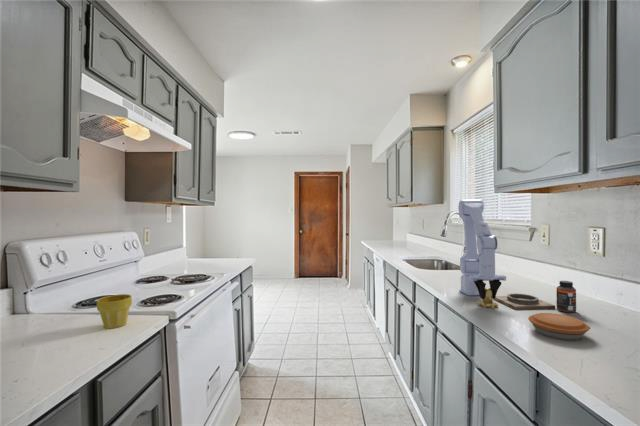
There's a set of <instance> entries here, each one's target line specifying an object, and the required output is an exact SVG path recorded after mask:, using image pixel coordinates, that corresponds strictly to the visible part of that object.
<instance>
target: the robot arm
mask: <svg viewBox="0 0 640 426" xmlns="http://www.w3.org/2000/svg"><path fill="white" fill-rule="evenodd" d="M484 208H485V203H484V201H483V200H482V199H460V200H459V202H458V215H459V218H460V219H461V220H462V221H463V231H464V245H465V253H464V254H463V255H462V256H461V257H460V259H459V271H460V272H461V276H460V289H459V290H458V291H459V292H461V293H463V294H465V295H467V296H479V299H481V300H483V299H484V298H485V288H486V285H487V284H486V282H488V283H489V287H490V288H491V289H492V291H493V300H494V299H495V297H496V296H497V293H498V291H499V289H500V287H501V285H502V281H503V282H506V281H507V275H504V274H496V250H497V248H498V246H499V245H498V239H497V236H496V235H494V234H493V233H492V231H491V229H490V226H489V224H488V223H487V222H486V221H485V220H484V216H483V212H484V210H485V209H484Z"/></svg>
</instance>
